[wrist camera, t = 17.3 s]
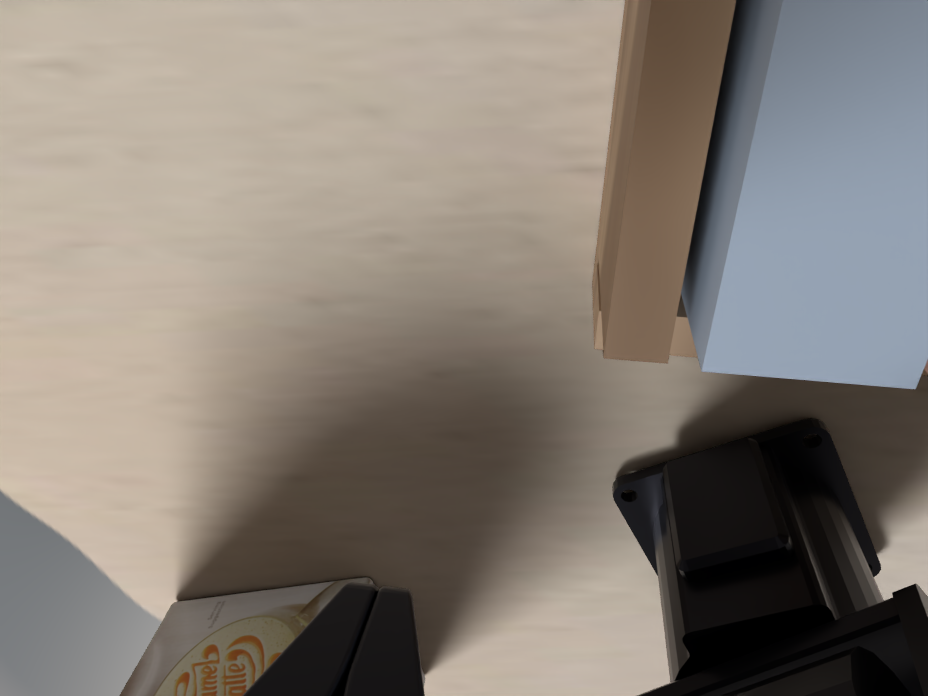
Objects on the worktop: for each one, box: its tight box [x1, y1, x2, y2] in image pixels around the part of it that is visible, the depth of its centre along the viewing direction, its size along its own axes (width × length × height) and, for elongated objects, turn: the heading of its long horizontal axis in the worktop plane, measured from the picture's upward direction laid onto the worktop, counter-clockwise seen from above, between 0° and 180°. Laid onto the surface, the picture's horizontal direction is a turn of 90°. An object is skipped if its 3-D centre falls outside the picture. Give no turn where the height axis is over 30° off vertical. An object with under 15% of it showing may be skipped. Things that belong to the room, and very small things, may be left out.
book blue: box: [681, 0, 928, 389], centre depth 13 cm, size 4×7×6 cm, turn 179°
